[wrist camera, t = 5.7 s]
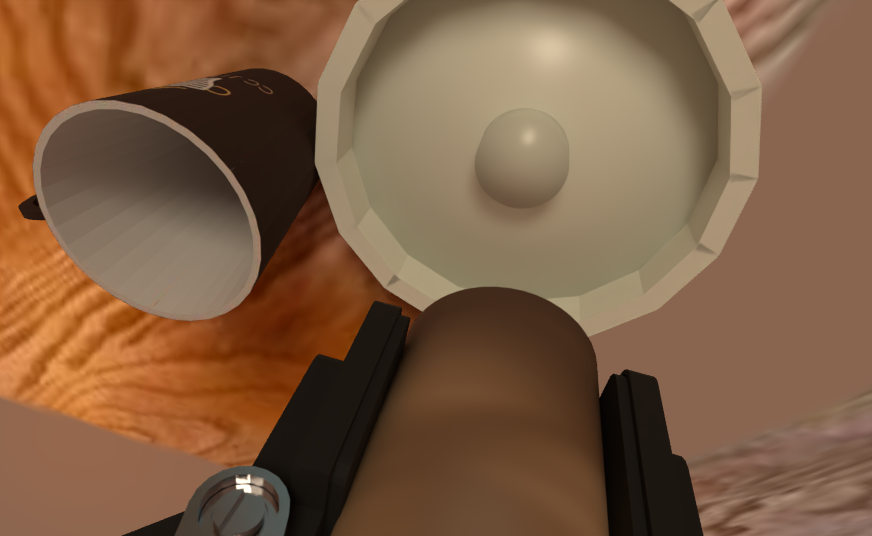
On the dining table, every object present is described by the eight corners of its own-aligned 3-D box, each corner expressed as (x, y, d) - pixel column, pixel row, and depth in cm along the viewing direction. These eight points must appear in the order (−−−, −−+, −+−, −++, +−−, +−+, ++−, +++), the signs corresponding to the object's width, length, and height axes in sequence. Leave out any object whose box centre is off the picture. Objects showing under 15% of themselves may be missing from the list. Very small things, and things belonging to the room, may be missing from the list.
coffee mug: (369, 80, 26) (276, 155, 18) (334, 233, 31) (247, 349, 22) (133, -6, 26) (-71, 27, 18) (135, 160, 31) (-26, 248, 22)
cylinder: (627, 318, 11) (683, 678, 6) (562, 454, 13) (559, 800, 8) (421, 263, 11) (296, 559, 6) (392, 405, 13) (282, 710, 8)
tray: (826, -34, 21) (862, -27, 18) (649, 340, 30) (656, 378, 28) (353, -122, 22) (326, -127, 19) (329, 262, 32) (309, 291, 29)
